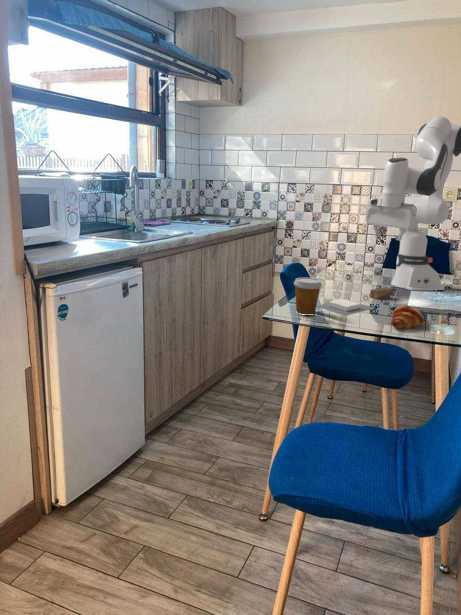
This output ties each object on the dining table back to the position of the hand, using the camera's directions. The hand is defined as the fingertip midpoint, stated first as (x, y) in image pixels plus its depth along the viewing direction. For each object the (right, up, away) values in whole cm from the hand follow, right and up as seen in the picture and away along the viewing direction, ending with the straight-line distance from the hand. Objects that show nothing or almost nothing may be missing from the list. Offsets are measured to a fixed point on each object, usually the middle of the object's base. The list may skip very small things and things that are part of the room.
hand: (387, 238), depth 197 cm
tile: (-16, -25, -9) cm, 31 cm away
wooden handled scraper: (-4, -24, +4) cm, 24 cm away
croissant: (-1, -33, -26) cm, 41 cm away
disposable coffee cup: (-35, -29, -19) cm, 49 cm away
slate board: (-19, -27, -11) cm, 35 cm away
